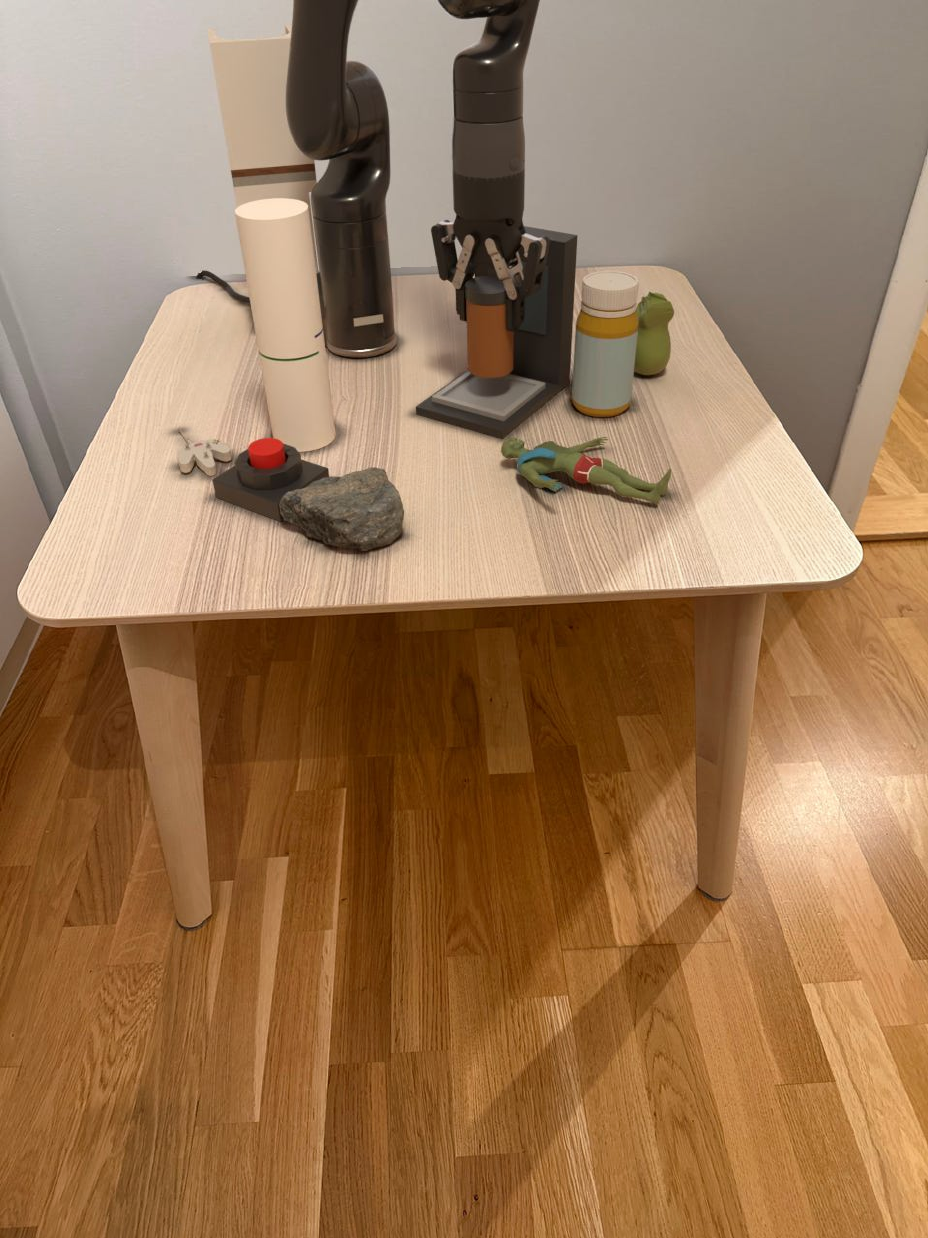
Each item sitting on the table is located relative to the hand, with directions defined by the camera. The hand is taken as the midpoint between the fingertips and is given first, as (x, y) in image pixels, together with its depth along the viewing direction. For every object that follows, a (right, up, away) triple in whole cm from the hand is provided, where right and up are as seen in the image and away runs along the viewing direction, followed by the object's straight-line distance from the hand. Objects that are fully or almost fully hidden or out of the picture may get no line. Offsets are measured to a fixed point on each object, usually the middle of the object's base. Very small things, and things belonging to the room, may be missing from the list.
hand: (489, 323), depth 107 cm
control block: (-23, -20, -9) cm, 32 cm away
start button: (-23, -18, -11) cm, 31 cm away
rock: (-15, -25, -14) cm, 33 cm away
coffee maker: (+1, -7, +7) cm, 10 cm away
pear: (+20, -3, +12) cm, 24 cm away
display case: (-28, +11, +30) cm, 42 cm away
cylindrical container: (-21, -13, +1) cm, 25 cm away
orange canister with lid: (0, -4, +4) cm, 6 cm away
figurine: (+9, -20, -8) cm, 23 cm away
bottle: (+13, -8, +5) cm, 17 cm away
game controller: (-33, -15, -2) cm, 36 cm away
